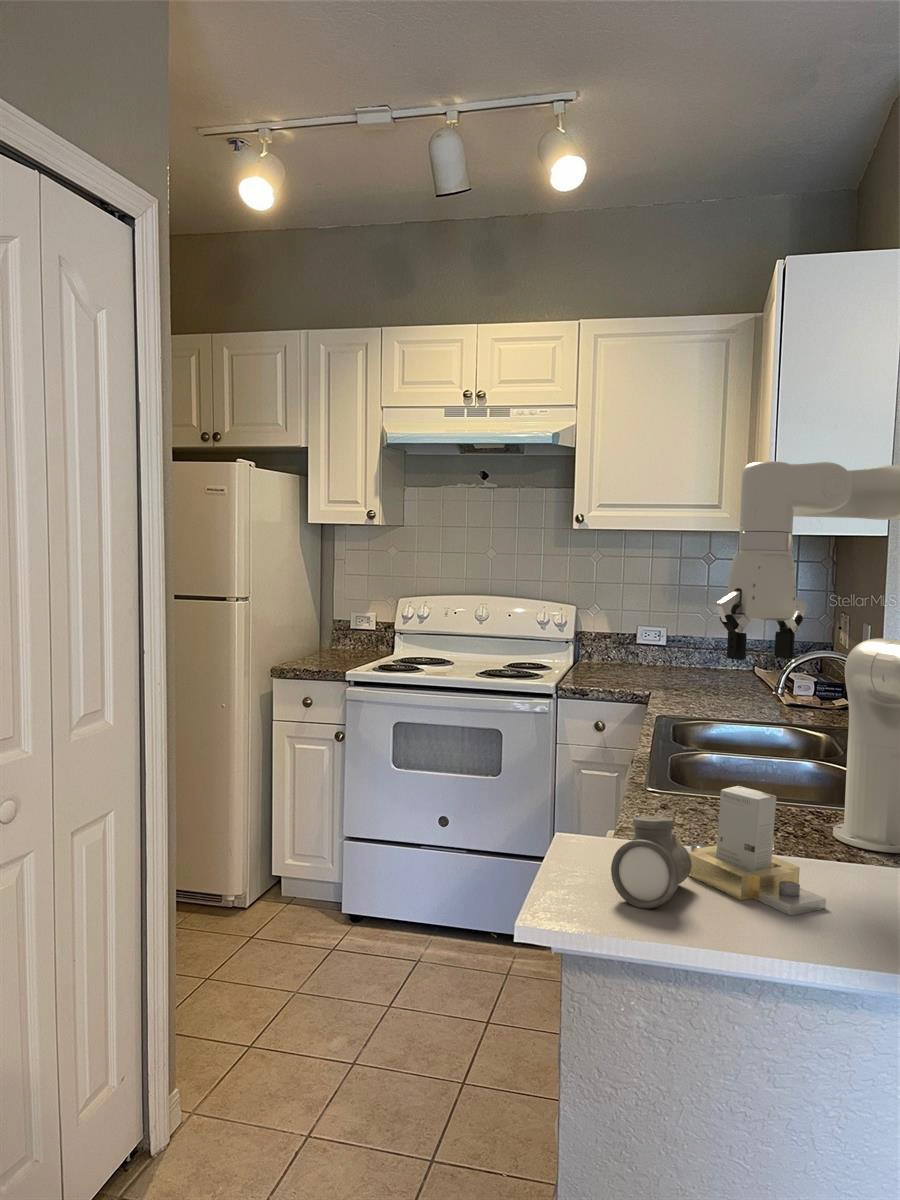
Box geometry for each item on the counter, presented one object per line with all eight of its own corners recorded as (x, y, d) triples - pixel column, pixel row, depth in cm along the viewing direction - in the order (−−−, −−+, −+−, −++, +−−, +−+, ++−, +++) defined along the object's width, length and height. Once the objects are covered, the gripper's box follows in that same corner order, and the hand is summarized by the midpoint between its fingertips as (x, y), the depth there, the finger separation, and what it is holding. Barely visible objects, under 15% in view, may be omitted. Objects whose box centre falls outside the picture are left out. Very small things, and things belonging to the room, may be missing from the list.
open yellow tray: (711, 852, 129) (712, 832, 129) (837, 906, 109) (838, 882, 109) (657, 860, 124) (658, 839, 124) (778, 917, 105) (779, 892, 105)
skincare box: (713, 878, 118) (716, 788, 118) (733, 872, 121) (737, 784, 120) (753, 892, 113) (757, 799, 113) (773, 886, 116) (777, 794, 115)
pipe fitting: (673, 914, 104) (672, 825, 105) (609, 904, 108) (609, 819, 109) (703, 896, 114) (703, 815, 115) (644, 888, 118) (644, 810, 119)
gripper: (787, 547, 139) (782, 655, 140) (703, 543, 132) (698, 657, 132) (826, 547, 133) (821, 660, 133) (740, 542, 125) (735, 662, 126)
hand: (760, 658), depth 133 cm, fingers open, 9 cm apart
